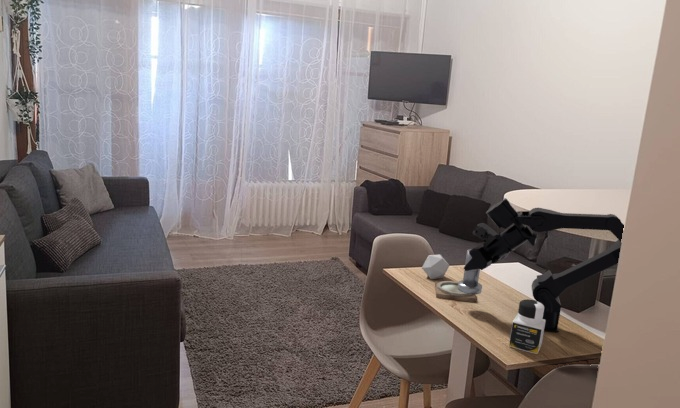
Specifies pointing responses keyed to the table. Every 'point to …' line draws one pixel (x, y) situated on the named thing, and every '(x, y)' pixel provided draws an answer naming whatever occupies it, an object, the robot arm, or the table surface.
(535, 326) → the medicine bottle
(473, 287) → the silver round peg
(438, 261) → the die
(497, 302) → the table surface
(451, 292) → the board
